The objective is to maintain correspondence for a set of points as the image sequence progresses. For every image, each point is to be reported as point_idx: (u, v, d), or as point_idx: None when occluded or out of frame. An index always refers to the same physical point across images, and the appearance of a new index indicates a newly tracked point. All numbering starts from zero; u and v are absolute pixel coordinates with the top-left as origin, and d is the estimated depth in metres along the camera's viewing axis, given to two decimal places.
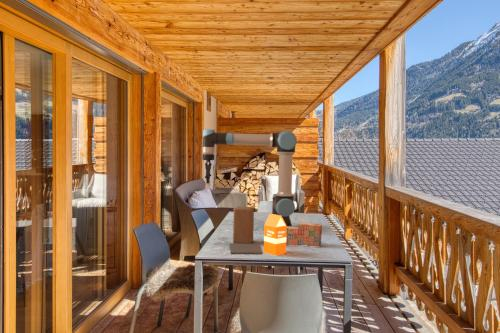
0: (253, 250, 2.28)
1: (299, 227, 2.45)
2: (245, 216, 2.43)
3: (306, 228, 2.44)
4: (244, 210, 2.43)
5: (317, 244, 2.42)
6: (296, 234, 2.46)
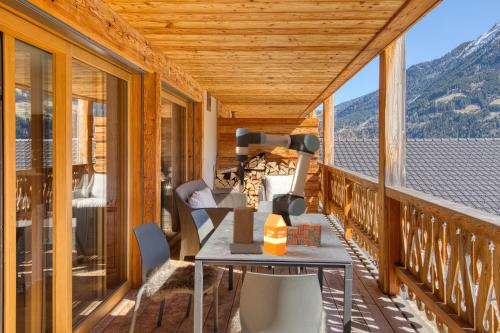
0: (253, 250, 2.28)
1: (299, 227, 2.45)
2: (245, 216, 2.43)
3: (305, 228, 2.44)
4: (244, 210, 2.43)
5: (317, 244, 2.42)
6: (295, 234, 2.46)
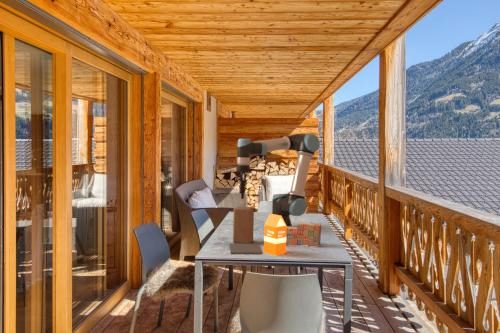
0: (253, 250, 2.28)
1: (298, 227, 2.45)
2: (245, 216, 2.43)
3: (305, 228, 2.44)
4: (244, 210, 2.43)
5: (316, 244, 2.42)
6: (295, 234, 2.46)
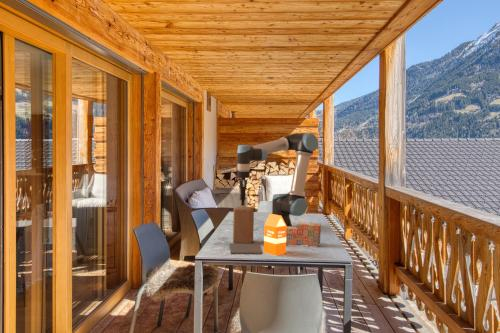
0: (253, 250, 2.28)
1: (298, 227, 2.45)
2: (245, 216, 2.43)
3: (305, 228, 2.44)
4: (244, 210, 2.43)
5: (316, 244, 2.42)
6: (295, 234, 2.46)
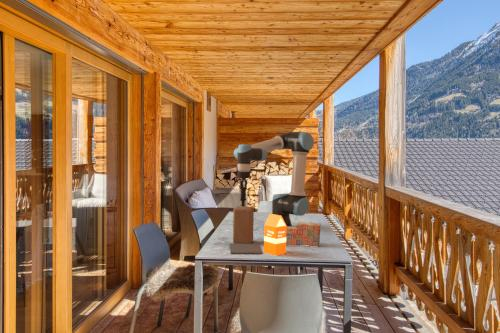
0: (253, 250, 2.28)
1: (298, 227, 2.45)
2: (245, 216, 2.43)
3: (304, 228, 2.44)
4: (244, 210, 2.43)
5: (316, 244, 2.43)
6: (294, 234, 2.46)
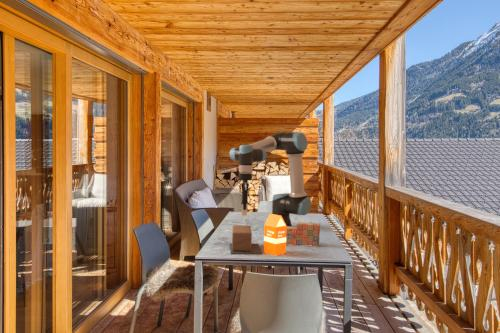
0: (253, 250, 2.28)
1: (298, 227, 2.45)
2: None
3: (304, 228, 2.45)
4: None
5: (316, 243, 2.43)
6: (294, 234, 2.46)
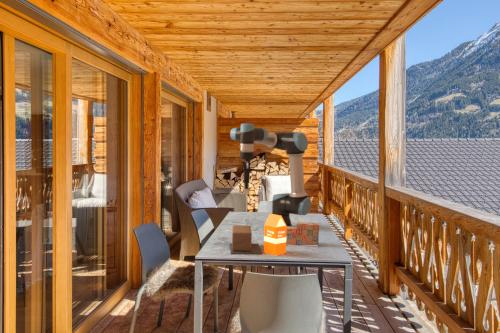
0: (253, 250, 2.28)
1: (297, 227, 2.46)
2: None
3: (304, 228, 2.45)
4: None
5: (316, 243, 2.44)
6: (294, 234, 2.46)
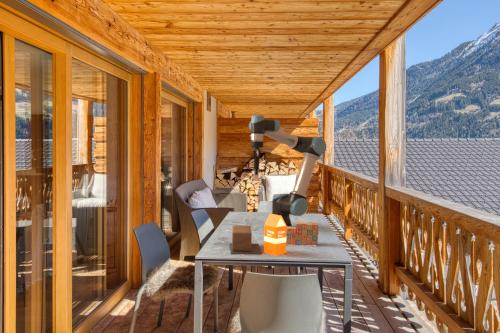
0: (253, 250, 2.28)
1: (297, 227, 2.46)
2: None
3: (304, 227, 2.46)
4: None
5: (315, 243, 2.45)
6: (293, 234, 2.47)
